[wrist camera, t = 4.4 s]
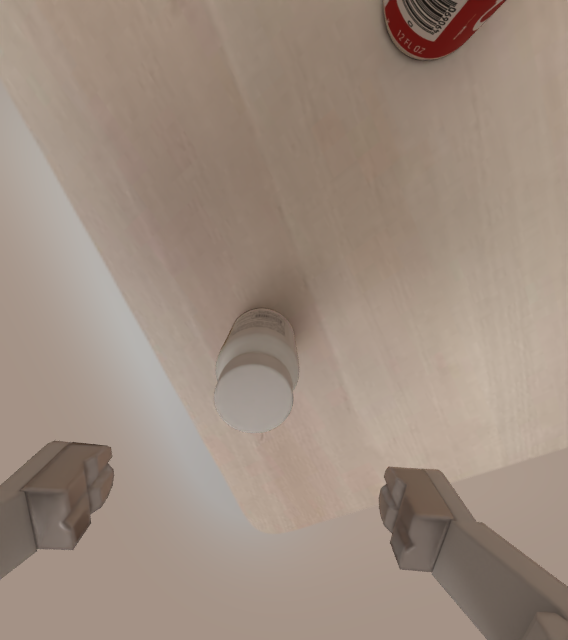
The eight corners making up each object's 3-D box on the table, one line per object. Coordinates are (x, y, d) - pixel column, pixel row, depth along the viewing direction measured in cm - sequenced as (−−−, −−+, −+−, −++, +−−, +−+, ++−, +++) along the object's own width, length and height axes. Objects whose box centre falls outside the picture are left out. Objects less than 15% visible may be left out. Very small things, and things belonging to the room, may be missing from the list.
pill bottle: (218, 325, 19) (181, 382, 12) (275, 295, 18) (274, 336, 11) (250, 376, 20) (234, 458, 13) (304, 350, 20) (321, 419, 12)
